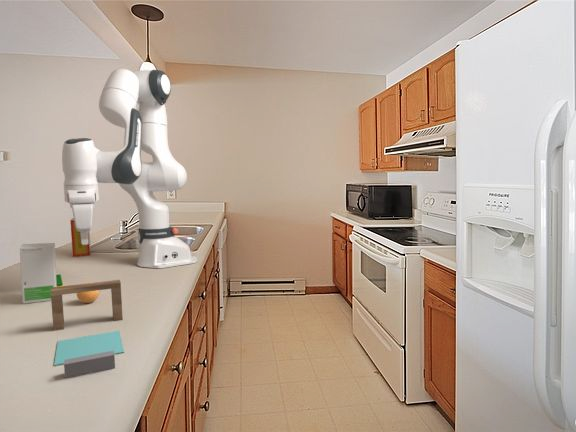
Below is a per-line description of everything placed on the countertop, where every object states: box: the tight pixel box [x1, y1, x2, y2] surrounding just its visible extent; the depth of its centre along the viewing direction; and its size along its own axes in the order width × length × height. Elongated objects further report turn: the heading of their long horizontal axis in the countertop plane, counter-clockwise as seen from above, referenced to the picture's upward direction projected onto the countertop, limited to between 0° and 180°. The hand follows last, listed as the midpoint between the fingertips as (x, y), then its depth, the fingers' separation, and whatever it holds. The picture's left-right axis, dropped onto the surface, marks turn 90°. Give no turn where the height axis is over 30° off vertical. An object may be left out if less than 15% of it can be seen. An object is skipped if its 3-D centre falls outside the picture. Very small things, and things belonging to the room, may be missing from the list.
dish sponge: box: [56, 274, 64, 287], centre depth 127 cm, size 7×14×2 cm, turn 32°
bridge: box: [50, 279, 124, 331], centre depth 95 cm, size 3×14×9 cm, turn 117°
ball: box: [76, 281, 100, 304], centre depth 111 cm, size 6×6×6 cm
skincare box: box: [19, 242, 57, 305], centre depth 114 cm, size 8×7×16 cm
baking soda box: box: [70, 217, 92, 258], centre depth 176 cm, size 10×6×16 cm
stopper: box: [63, 351, 116, 379], centre depth 73 cm, size 8×2×2 cm, turn 117°
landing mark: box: [53, 330, 125, 367], centre depth 83 cm, size 12×12×1 cm
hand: (85, 243), depth 117 cm, fingers open, 3 cm apart
